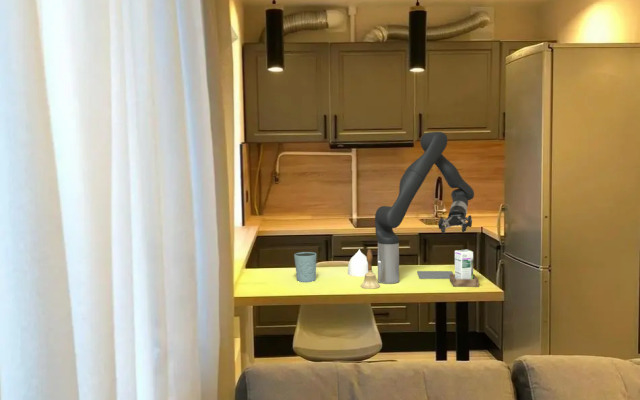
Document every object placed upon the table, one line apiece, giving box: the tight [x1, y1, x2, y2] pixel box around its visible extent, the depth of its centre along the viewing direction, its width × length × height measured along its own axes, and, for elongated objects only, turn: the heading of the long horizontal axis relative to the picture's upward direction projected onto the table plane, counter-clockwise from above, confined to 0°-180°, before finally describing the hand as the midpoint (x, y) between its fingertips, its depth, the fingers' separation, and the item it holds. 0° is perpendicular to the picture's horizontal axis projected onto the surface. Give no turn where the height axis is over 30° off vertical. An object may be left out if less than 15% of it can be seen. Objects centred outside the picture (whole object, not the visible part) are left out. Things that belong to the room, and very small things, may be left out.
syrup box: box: [454, 249, 474, 279], centre depth 237 cm, size 6×6×14 cm
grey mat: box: [416, 270, 454, 280], centre depth 253 cm, size 16×12×1 cm
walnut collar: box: [449, 273, 480, 288], centre depth 238 cm, size 10×10×3 cm
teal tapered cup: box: [293, 251, 317, 283], centre depth 249 cm, size 10×10×12 cm
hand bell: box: [360, 249, 381, 290], centre depth 236 cm, size 8×8×16 cm
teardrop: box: [347, 248, 368, 277], centre depth 260 cm, size 11×11×12 cm
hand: (453, 231), depth 239 cm, fingers open, 8 cm apart
